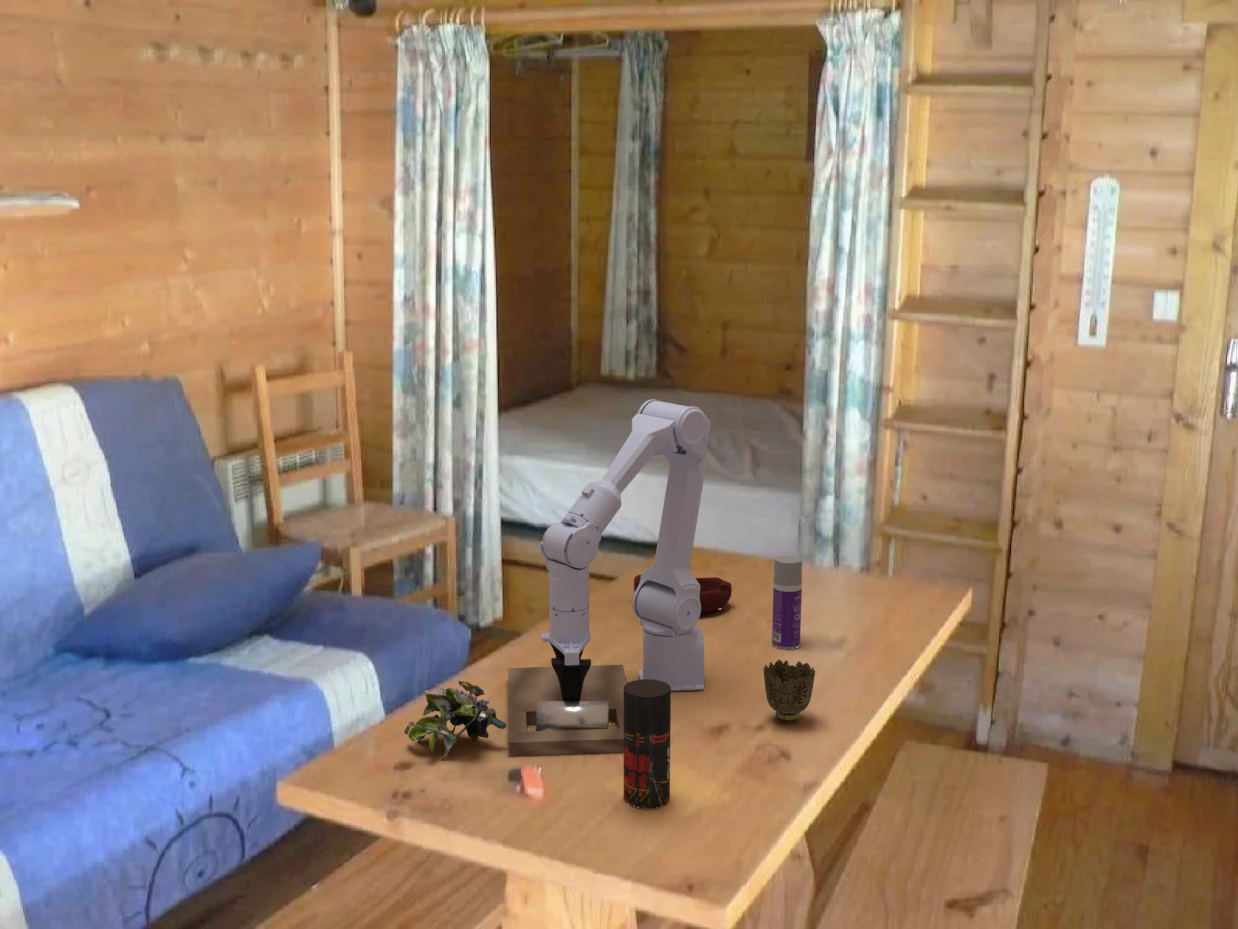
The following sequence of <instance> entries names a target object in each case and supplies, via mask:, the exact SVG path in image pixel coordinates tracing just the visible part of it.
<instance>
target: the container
mask: <svg viewBox="0 0 1238 929" xmlns="http://www.w3.org/2000/svg"><path fill="white" fill-rule="evenodd" d="M802 562H803V558H801V557H799V556H795V555H778V556H776V557H775V558H774V569H773V570H774V571H773V572H774V573H773V587H772V588H773V590H772V627H771V628H772V633H771V645H772V644H773V645H774V646H775V647H777V648H776V649H778V648H782V649H781V650H783V649H792V650H794V649H793V648H796V647H798V646H799V645H800V646H801V628H802V627H801V626H802V624H801V622H802V621H801V620H802V593H803V592H802V590H803V589H802V588H803V587H802V586H803V585H802V584H803V581H802V580H803V577H802V576H803V575H802V574H803V568H802V567H803V563H802ZM773 645H772V646H773ZM775 647H774V648H775Z"/></svg>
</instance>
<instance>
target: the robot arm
mask: <svg viewBox="0 0 1238 929" xmlns="http://www.w3.org/2000/svg"><path fill="white" fill-rule="evenodd" d="M710 430H711V421H710V420H709V419H708V417H707V416H706V414H705V412H704V411H703V410H702V409H701V408H699V407H698V406H692V405H691V406H687V405H681V404H676V403H672V402H665V401H661V400H659V399H654V398H653V399H648V400H646V401H644V403H642V405H641V406H640V407H639V409H638V411H637V413H636V414H635V415H634V416H633V417H632V419H631V432H630V434H629V435H628V437H627V439H626V440H625V442H624V444H623V445H622V447H621V449H619V451H618V454H617V455H616V456H615V458H614V459H613V461H612V462H611V465H610V466H609V467H608V469H607V471H606V473H605V474H604V476H602V479H600V480H597V481H592V482H589V483H588V485H585V486H584V487H583V489H582V490H581V494H580V496H579V497H578V498H577V500H576V501H575V502H574V504H572V506H571V508H570V509H569V511H568V512H567V513H566V514H565V515H564V517H563V518H562V520H561V521H560V522H556V524H555V523H553V524H552V525H551V526H550V527H548V528H547V529H546V531H544V534H543V536H542V541H541V543H540V542H539V550H540V553H541V555H542V556H543V558H544V559H545V561H546V570H547V571H548V584H549V585H548V589H549V593H548V594H549V596H548V597H549V598H548V599H549V600H548V602H549V632H543V633H541V642H542V643H549V644H550V646H551V648H552V650H553V653H554V655H555V657H551V660H550V661H551V667H553V669H554V671H555V672H556V674H557V677H558V680H559V683H560V688H561V694H562V699H563V701H580V698H581V693H582V687H583V682H584V679H585V676H586V674H587V672H588V670H589V669H590V666H592V659H591V658H588V659H587V658H585V659H584V658H582V655H583V652H584V649H585V647H586V646H587V645H588V644H589V643H590V642H591V637H592V635H591V633H590V564H592V562H593V561H594V560H595V559H597V555H598V552H599V543H600V542H601V540H602V534H603V533H604V531H605V530H606V528H607V527H608V525H609V524H610V523H611V521H612V520H613V519H614V518H615V516H616V514H617V513H618V512H619V510H620V509H621V508H622V498H621V497H622V496H621V494H622V493H623V492H624V491H625V489H626V488H627V487H628V486H629V485H630V483H632V481H633V480H634V479H635V477H636V476H637V475H638V474H639V473H640V472H641V471H642V469H643V468H644V467H645V466H646V465H647V463H648V462H649V461H650V460H651V458H652V457H654V456H660V455H661V456H662V455H663V457H664V458H665V459H666V461H667V462H668V464H669V467H668V468H669V470H668V475H667V482H666V489H665V495H664V500H663V506H662V512H661V519H660V526H659V531H658V538H657V544H656V551H655V556H654V557H655V558H654V563H653V564H652V565H651V566H650V567H648V568H647V569H645V570H643V571H642V572H641V574H640V575H641V579H640V583H639V586H638V588H637V589H636V591H635V592H634V594H633V597H632V611H633V614H634V615H635V616H637V618H638V619H639V626H641V627H642V629H643V631H642V670H641V669H640V670H638V673H637V674H638V677H639V680H642V679H652V680H659V681H663V682H665V683H667V684H669V685H670V687H671V692H675V691H678V692H679V691H680V692H681V691H703V690H705V683H704V682H705V679H704V678H705V676H704V675H705V642H704V640H705V639H704V632H703V629H702V627H701V626H697V623H698V622H699V619H700V617H701V614H702V613H701V603H700V597H699V595H700V587H701V586H700V584H699V583H698V581H697V580H696V579H695V578H696V577H695V576H694V574H693V573H692V571H691V570H690V566H691V559H692V555H693V554H692V553H693V549H694V548H693V547H694V541H695V535H696V530H697V529H696V528H697V524H698V523H697V522H698V518H699V511H700V510H699V509H700V505H701V498H702V492H703V487H704V481H705V474H706V468H707V461H708V448H707V447H708V442H709V435H710Z"/></svg>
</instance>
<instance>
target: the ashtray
mask: <svg viewBox="0 0 1238 929" xmlns="http://www.w3.org/2000/svg"><path fill="white" fill-rule="evenodd" d="M640 579H641V574H638V575H636V576H635V577H634V579H633V591H634V593H635V591H636V589H637V588H638V586H639V583H640ZM695 579H696V580H697V581H698V583H699V584H700V586H701V587H700V595H699V597H700V603H701V613H700V614H703V613H710V612H711V613H712V612H716V611H715V610H717V609H719V608H722V609H723V608H724V606H726V605H727V603H729V601H730V600H731V597H732V591H733V589H732V588H733V587H732V584H731V582H730V581H727V580H724V579H722V578H720V577H717V576H716V577H695Z"/></svg>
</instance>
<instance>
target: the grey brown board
mask: <svg viewBox="0 0 1238 929" xmlns="http://www.w3.org/2000/svg"><path fill="white" fill-rule="evenodd" d="M507 674H508V675H507V677H508V678H507V683H508V684H507V685H508V686H507V687H508V688H507V691H508V695H507V696H508V699H507V700H508V704H507V706H508V756H509V757H526V756H527V757H530V756H532V757H533V756H556V755H558V756H559V755H580V754H581V755H585V754H586V755H587V754H609V753H610V754H611V753H612V754H613V753H617V754H618V753H624V686H625V685H626V684H627V683H628V681H627V676H626V672H625V668H624V664H600V665H599V664H598V665H596V664H595V665H591V666H590V669H589V670H588V672H587V674H586V676H585V679H584V682H583V687H582V693H581V698H580V701H604V702H608V705H609V723H615V725H616V728H608V729H588V730H559V731H536V730H534V731H533V730H532V731H531V730H530V731H529V730H527V726H529V725H531V726H532V725H536V712H537V702H538V701H563V699H562V694H561V688H560V683H559V680H558V677H557V674H556V672H555V671H554V669H553V667H552V666H540V667H538V666H537V667H535V666H533V667H528V666H527V667H508V668H507Z"/></svg>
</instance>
